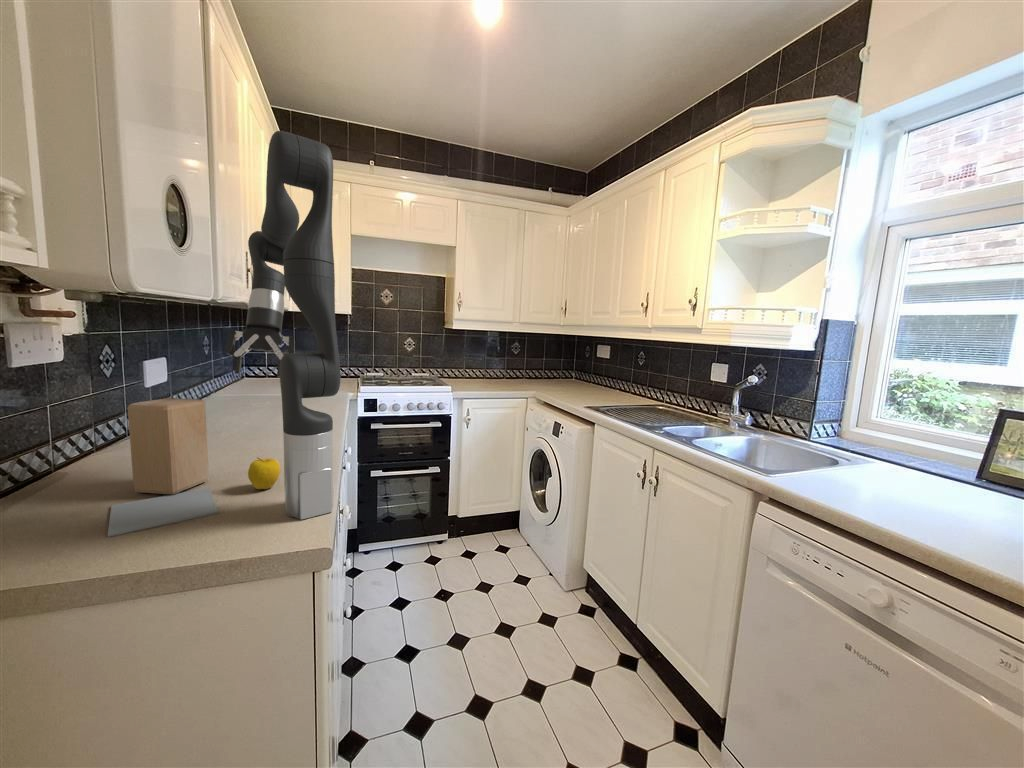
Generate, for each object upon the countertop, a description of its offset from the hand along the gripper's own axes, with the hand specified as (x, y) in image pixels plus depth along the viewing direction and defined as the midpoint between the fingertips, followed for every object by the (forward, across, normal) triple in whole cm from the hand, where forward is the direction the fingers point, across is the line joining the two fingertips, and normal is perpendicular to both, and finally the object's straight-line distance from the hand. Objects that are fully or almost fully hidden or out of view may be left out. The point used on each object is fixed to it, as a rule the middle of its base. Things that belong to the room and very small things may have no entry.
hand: (258, 375), depth 98 cm
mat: (+30, -13, -5) cm, 33 cm away
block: (+27, -15, +7) cm, 31 cm away
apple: (+27, +4, +1) cm, 27 cm away
